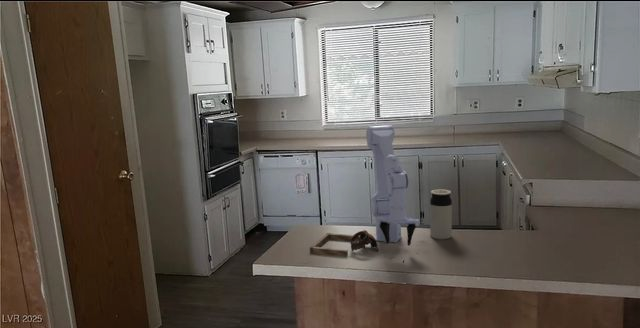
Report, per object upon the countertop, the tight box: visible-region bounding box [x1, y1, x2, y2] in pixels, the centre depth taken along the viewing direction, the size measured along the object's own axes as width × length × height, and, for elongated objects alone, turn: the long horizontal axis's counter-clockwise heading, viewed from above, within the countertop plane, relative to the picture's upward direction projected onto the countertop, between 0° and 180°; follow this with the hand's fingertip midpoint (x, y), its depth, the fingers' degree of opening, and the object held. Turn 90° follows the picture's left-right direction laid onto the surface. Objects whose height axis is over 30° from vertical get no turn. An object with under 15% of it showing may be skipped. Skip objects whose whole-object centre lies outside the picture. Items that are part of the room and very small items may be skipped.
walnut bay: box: [309, 232, 361, 257], centre depth 176 cm, size 14×17×2 cm
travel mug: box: [429, 188, 453, 240], centre depth 181 cm, size 8×8×18 cm
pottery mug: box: [349, 230, 379, 252], centre depth 172 cm, size 12×10×8 cm
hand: (398, 243), depth 166 cm, fingers open, 7 cm apart
